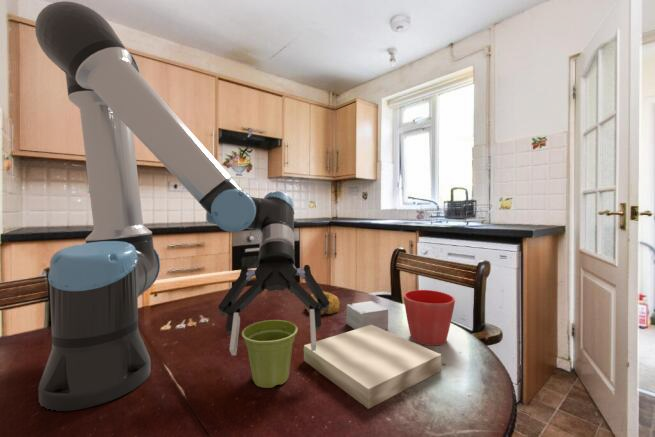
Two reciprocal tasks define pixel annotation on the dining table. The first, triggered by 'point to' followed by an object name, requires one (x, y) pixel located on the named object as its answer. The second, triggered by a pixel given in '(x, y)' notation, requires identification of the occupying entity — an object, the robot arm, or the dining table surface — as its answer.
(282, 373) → the plant pot
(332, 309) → the bagel
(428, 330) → the flower pot
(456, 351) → the dining table surface
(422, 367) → the plinth
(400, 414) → the dining table surface
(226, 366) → the dining table surface
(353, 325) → the small box
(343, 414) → the dining table surface
